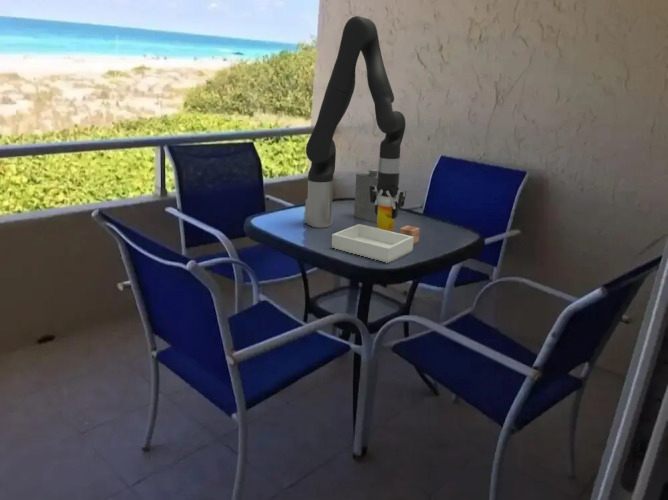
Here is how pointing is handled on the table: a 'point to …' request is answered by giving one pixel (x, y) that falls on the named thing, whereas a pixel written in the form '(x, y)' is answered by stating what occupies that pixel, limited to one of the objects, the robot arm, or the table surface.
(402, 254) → the tray
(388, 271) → the table surface
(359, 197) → the hip flask
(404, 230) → the wooden cube
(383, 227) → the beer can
